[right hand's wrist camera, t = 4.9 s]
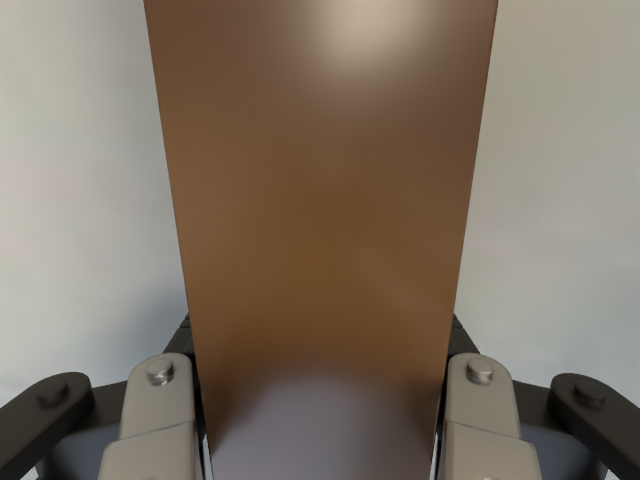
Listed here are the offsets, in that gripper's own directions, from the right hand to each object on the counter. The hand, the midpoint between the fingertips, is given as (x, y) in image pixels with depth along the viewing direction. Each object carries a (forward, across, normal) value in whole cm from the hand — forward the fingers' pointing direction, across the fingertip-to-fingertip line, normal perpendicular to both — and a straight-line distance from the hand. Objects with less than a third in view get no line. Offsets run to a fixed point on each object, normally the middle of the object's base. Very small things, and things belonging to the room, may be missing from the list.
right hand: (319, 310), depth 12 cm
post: (+3, 0, -31) cm, 31 cm away
